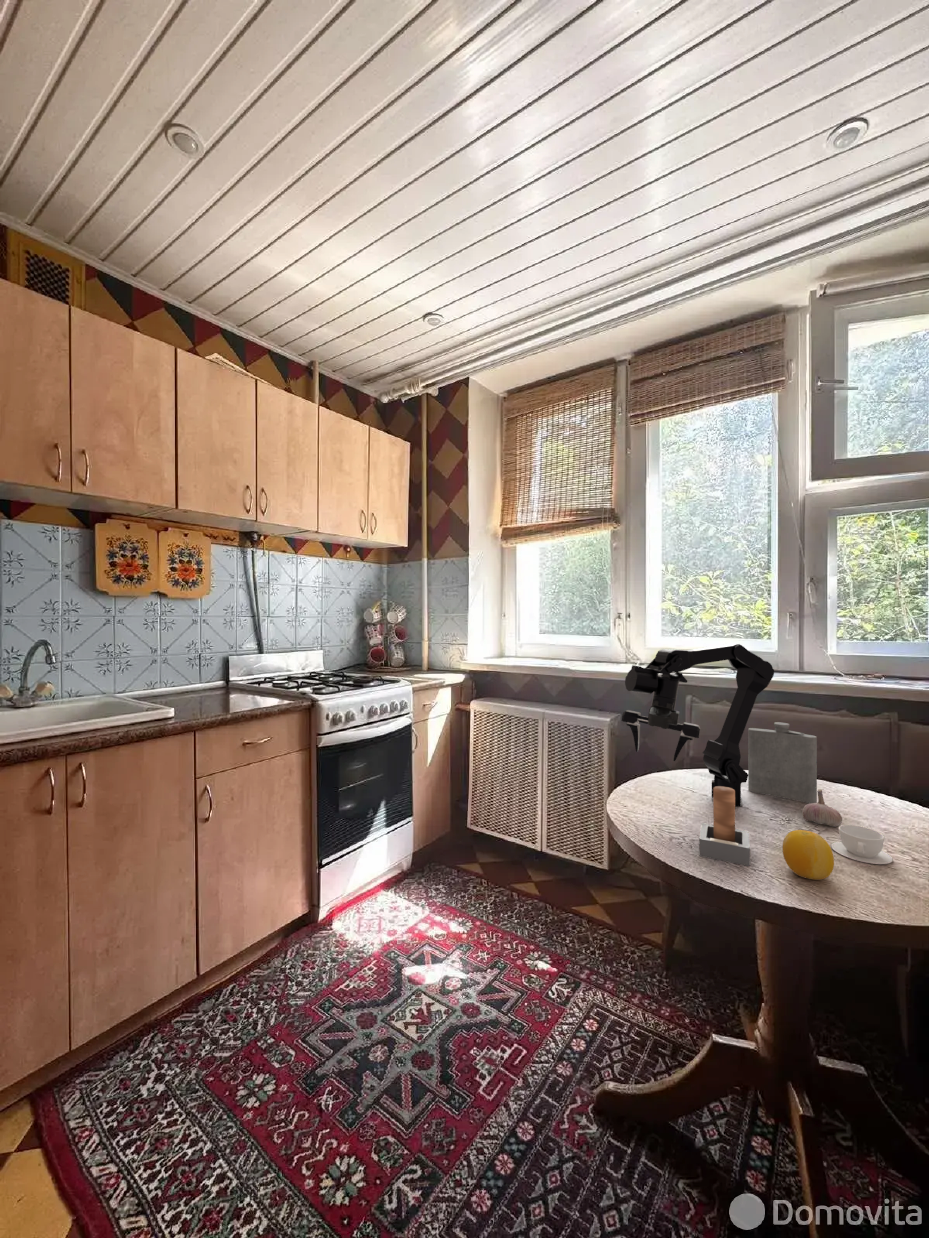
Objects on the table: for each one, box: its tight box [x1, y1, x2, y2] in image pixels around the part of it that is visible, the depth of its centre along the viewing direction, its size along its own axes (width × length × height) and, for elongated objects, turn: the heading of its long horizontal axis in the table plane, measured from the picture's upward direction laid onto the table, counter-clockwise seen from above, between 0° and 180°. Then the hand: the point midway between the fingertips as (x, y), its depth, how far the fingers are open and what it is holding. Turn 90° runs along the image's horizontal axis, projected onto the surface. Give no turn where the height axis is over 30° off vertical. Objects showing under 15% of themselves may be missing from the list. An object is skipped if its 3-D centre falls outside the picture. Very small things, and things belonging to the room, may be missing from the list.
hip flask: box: [747, 721, 818, 804], centre depth 136 cm, size 16×4×20 cm, turn 50°
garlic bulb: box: [802, 788, 843, 827], centre depth 118 cm, size 8×7×8 cm
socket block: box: [698, 822, 751, 867], centre depth 103 cm, size 9×9×4 cm
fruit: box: [782, 829, 835, 881], centre depth 94 cm, size 9×8×8 cm
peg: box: [712, 786, 736, 842], centre depth 103 cm, size 4×4×13 cm
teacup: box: [830, 824, 894, 865], centre depth 102 cm, size 10×10×5 cm
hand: (655, 756), depth 129 cm, fingers open, 9 cm apart
